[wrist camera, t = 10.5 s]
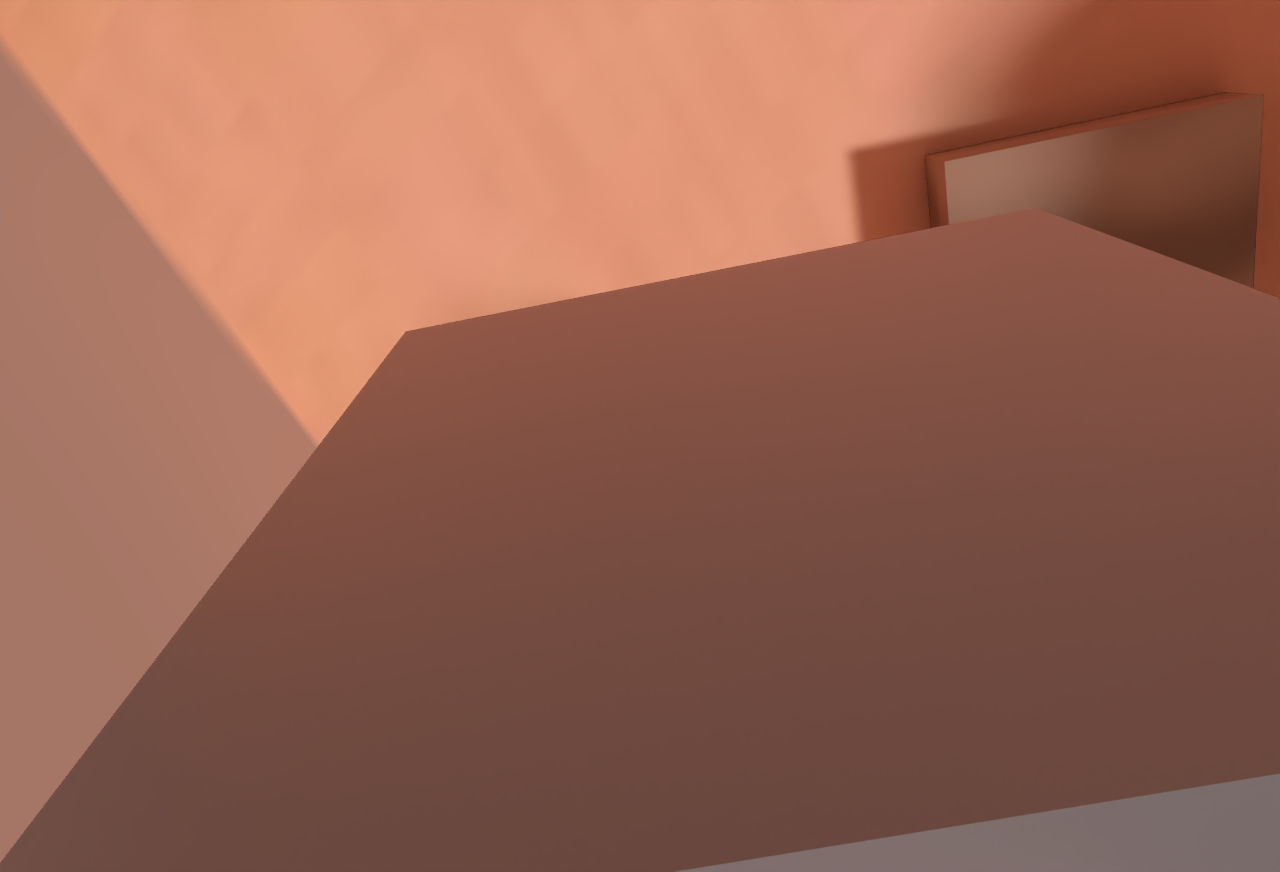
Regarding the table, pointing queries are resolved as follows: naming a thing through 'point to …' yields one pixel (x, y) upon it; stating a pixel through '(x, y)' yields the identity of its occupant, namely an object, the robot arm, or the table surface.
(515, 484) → the gray cube
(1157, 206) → the brown base with rod
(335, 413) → the table surface
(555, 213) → the table surface
